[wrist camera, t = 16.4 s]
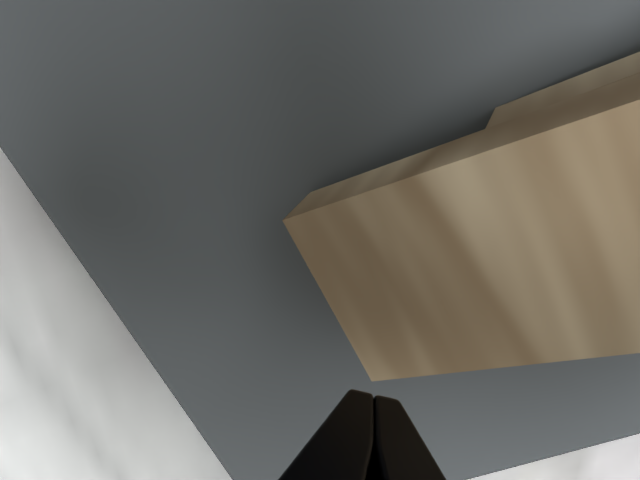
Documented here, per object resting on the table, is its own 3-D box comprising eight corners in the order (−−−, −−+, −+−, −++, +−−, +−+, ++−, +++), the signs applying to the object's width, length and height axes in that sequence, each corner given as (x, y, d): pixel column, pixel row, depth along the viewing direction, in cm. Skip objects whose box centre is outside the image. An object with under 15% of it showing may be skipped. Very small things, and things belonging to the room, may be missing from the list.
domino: (371, 381, 14) (743, 342, 10) (282, 220, 13) (669, 89, 9) (389, 343, 16) (728, 292, 11) (310, 192, 14) (661, 64, 10)
